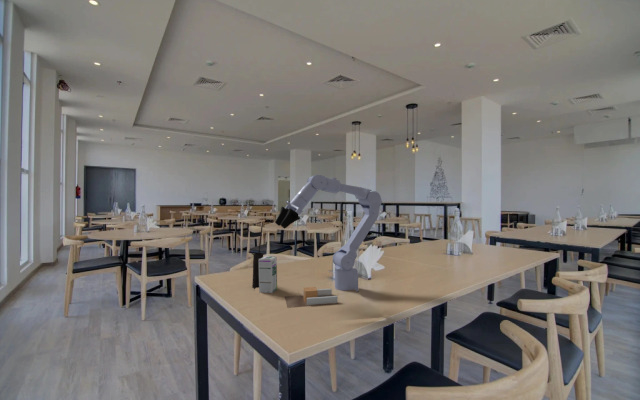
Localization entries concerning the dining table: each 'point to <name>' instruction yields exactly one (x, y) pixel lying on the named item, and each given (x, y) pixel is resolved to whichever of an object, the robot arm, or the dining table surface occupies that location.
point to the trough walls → (322, 299)
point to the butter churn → (256, 265)
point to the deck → (300, 301)
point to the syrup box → (268, 274)
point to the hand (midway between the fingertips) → (279, 225)
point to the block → (310, 293)
